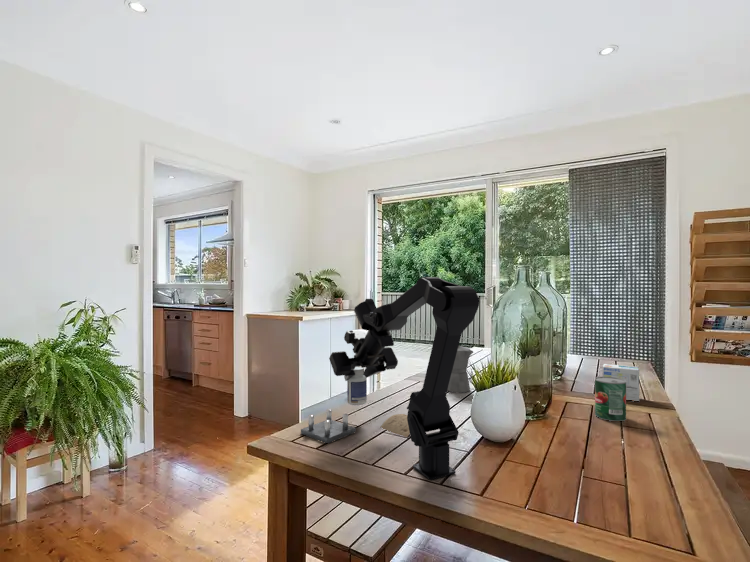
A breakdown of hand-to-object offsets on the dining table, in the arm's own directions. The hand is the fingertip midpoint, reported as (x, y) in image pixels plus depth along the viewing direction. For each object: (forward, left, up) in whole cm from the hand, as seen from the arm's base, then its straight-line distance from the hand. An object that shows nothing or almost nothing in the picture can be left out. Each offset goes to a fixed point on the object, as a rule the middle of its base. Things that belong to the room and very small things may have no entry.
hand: (354, 378), depth 114 cm
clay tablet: (-10, -11, -13) cm, 20 cm away
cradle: (-5, +10, -12) cm, 16 cm away
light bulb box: (-20, -90, -12) cm, 93 cm away
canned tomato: (-31, -67, -12) cm, 75 cm away
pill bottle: (-1, 0, -7) cm, 7 cm away
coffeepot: (+15, -47, -12) cm, 51 cm away
